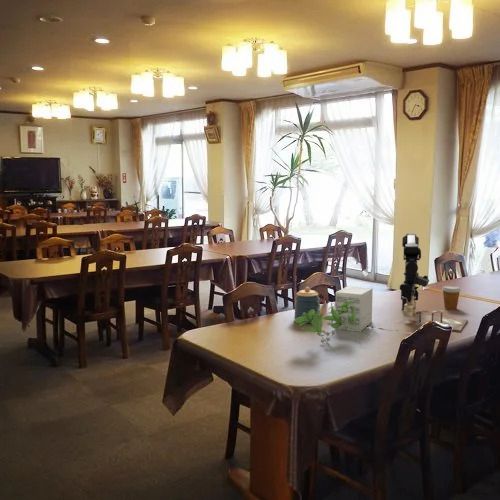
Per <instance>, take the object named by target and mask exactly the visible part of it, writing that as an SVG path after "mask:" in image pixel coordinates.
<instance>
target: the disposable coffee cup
mask: <svg viewBox="0 0 500 500" xmlns="http://www.w3.org/2000/svg"><path fill="white" fill-rule="evenodd" d="M441 290H442V295H443V296H442V297H443V304H444V309H445V310H452V311H455V310H457V309H458V303H459V299H460V298H459V297H460V292H461V287H459V286H456V285H444V286H442V288H441Z"/></svg>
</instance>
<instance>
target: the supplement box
mask: <svg viewBox="0 0 500 500" xmlns="http://www.w3.org/2000/svg"><path fill="white" fill-rule="evenodd" d="M350 301H353V305H352V304H349V306H352V307H353V306H354V309H355V315H356V319H355V323H354V322H349V321H348V314H349V315H352V312H351V310H352V308H350V307H348V312H347V313H348V314H347V313H344V314H341V315H339V316H340V317H341V319H342V322H343V320H345V321H344V325H341V326H340V327H339V328H337V329H338V330H345V331H351V330H352V332H358V331H359V332H360V330H361V332H363V330H365V329H367V328H368V327H369V326H368V325H370V324H371V323H372V322H373V288H371V287H364V286H363V287H362V286H353V285H352V286H351V285H348V286H345V287H343V288H342V289H340V290H338V291H337V290H336V292H335V302H336V303H337V305H336V303H335V305H336V306H335V311H336V312H337V313H338V311H340V309H341V308H340V306H342V304H343V303H344V302H350ZM339 308H340V309H339ZM338 309H339V310H338ZM341 310H342V309H341ZM346 320H347V321H346ZM347 322H348V323H347ZM334 323H336V321H334ZM342 324H343V323H342ZM355 324H356V325H357V326H356V325H355ZM343 326H344V327H346V329H345V328H344V327H343ZM347 326H348V328H347ZM342 327H343V328H344V329H343V328H342ZM357 327H358V328H359V329H360V330H359V329H358V328H357ZM359 332H358V333H359ZM361 332H360V333H361Z"/></svg>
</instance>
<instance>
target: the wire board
mask: <svg viewBox="0 0 500 500" xmlns="http://www.w3.org/2000/svg"><path fill="white" fill-rule="evenodd" d="M417 312H419V313H418V314H417V313H416V314H412V317H409V316H404V315H403V316H402V317H400V318H399V319H398V320H397V321H396V323H398V324H406V325H413V326H421V327H423V326H422V325H423V324H425V323H426V322H428V321H431V320H432V321H433V320H434V321H438V322H440V323H444V324H449V325H452V327H453V331H452V332H454V331H456V333H461V332H462V330H463V329H464V327H465V326H466V325H467V324H468V322H469V319H463V318H455V317H448V316H447V317H446V316H445V317H444V316H443V313H445V310H426V309H417ZM422 313H429V314H431V315H429V314H428V315H427V314H422ZM439 313H440V316H438V315H434V314H439Z"/></svg>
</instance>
